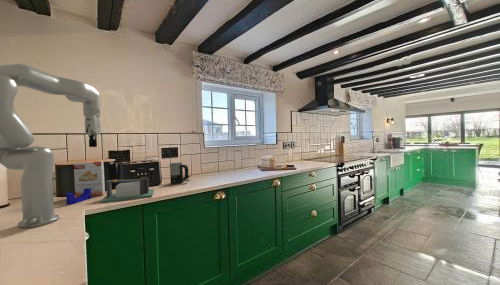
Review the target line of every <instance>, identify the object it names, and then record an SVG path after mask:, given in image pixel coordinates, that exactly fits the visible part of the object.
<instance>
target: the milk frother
mask: <svg viewBox="0 0 500 285" xmlns="http://www.w3.org/2000/svg"><path fill="white" fill-rule="evenodd" d="M182 163H183V162H170V163H169V172H170V174H169V175H170V184H172V185H176V184H177V185H178V184H181V183H184V181H186V180H188V179H189V178H191V175H189V166H188V165H187V164H182ZM183 169H184V171H183Z"/></svg>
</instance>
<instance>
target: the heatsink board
mask: <svg viewBox="0 0 500 285" xmlns="http://www.w3.org/2000/svg"><path fill="white" fill-rule="evenodd" d="M139 179H140V181H137V182H120V183H118V184H117V185H115V192H113V189H112V187H113V186H112V183H114V182H113V180H114V179H112V180H111V179H109V180H107V181H106V182H105V191H106V196H104V198H101V200H100V203H101V204H105V203H112V202H113V203H115V202H120V201H121V202H122V201H131V200H139V199H146V198H152V197H153V194H154V188H150V187H149V186H150V185H149V176H145V177H140V178H139Z"/></svg>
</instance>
